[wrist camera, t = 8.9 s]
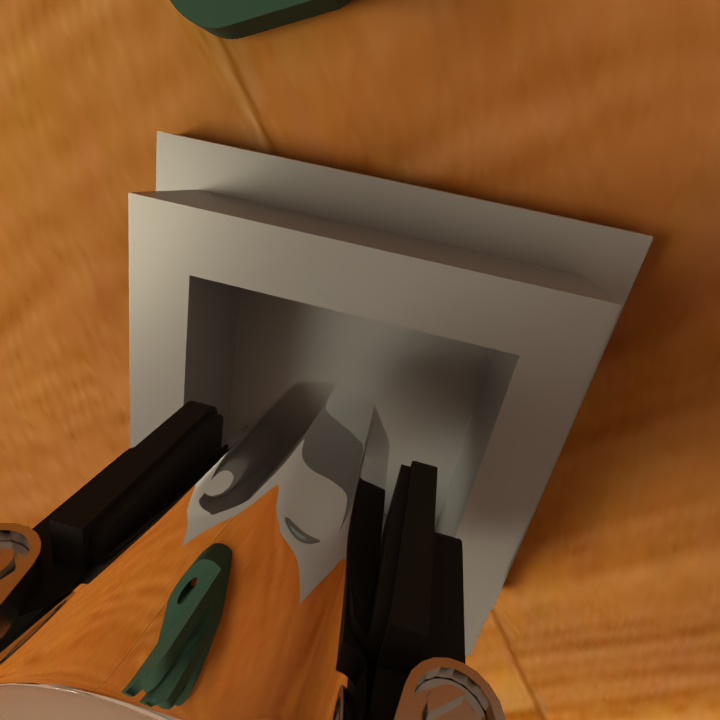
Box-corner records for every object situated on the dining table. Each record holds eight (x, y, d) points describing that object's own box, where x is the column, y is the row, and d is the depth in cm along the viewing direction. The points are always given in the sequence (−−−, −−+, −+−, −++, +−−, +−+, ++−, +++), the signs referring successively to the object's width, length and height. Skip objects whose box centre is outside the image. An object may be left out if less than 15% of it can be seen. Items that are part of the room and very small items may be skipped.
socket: (177, 134, 13) (73, 118, 10) (638, 232, 12) (718, 255, 8) (165, 491, 18) (94, 568, 15) (490, 586, 17) (500, 697, 14)
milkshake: (225, 503, 13) (-304, 1265, 4) (253, 328, 11) (-747, 1090, 2) (381, 554, 13) (199, 1522, 4) (440, 384, 11) (372, 1671, 1)
